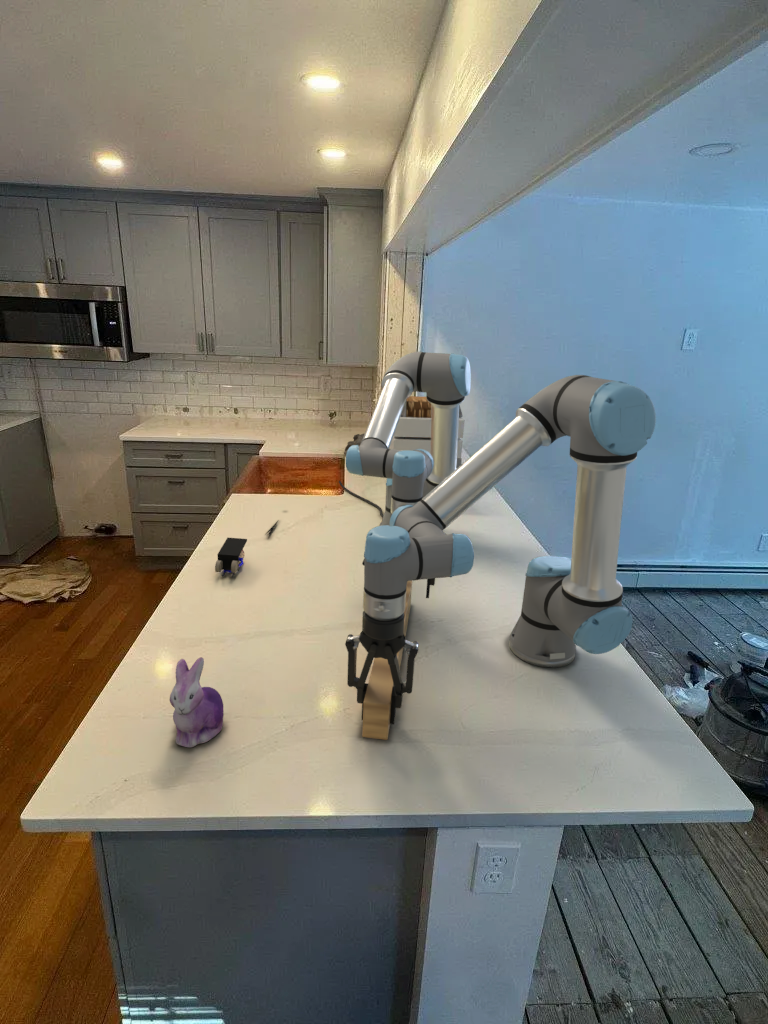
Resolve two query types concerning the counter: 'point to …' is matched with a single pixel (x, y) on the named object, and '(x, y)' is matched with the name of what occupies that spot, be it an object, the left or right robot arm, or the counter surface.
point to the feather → (272, 529)
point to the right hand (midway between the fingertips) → (378, 717)
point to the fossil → (356, 441)
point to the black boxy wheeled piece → (230, 556)
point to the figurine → (195, 706)
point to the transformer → (420, 428)
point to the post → (382, 689)
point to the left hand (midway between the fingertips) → (401, 593)
